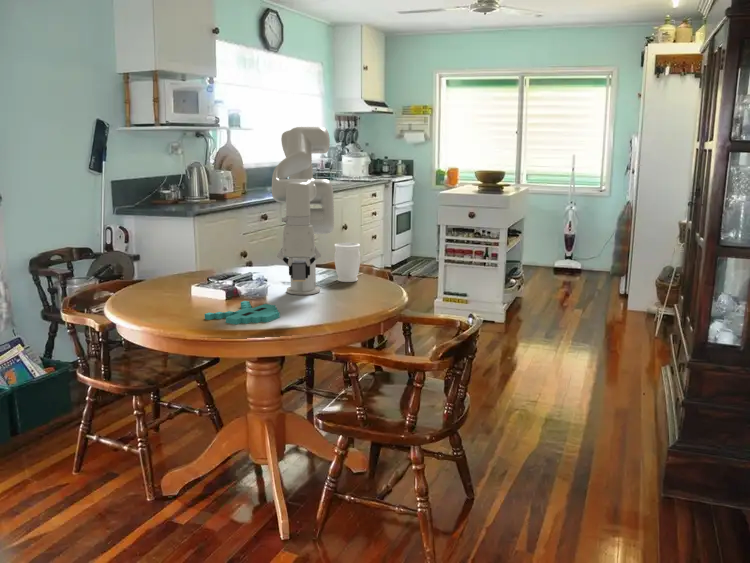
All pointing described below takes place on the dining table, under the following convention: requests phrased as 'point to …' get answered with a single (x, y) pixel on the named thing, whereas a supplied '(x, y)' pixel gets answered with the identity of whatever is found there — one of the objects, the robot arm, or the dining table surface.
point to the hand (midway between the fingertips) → (299, 276)
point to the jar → (347, 261)
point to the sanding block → (299, 270)
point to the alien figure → (247, 314)
